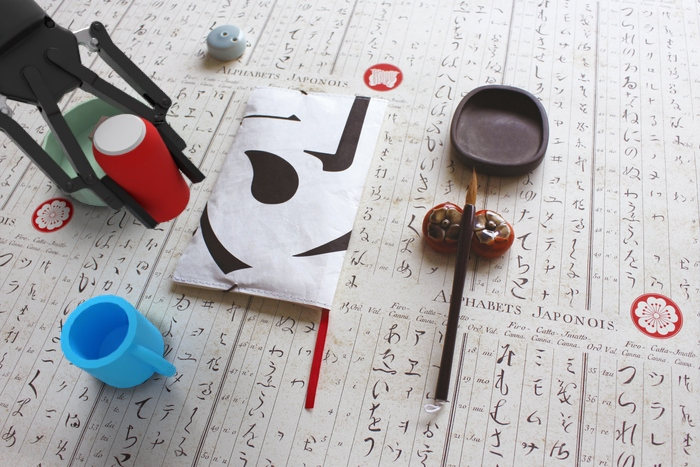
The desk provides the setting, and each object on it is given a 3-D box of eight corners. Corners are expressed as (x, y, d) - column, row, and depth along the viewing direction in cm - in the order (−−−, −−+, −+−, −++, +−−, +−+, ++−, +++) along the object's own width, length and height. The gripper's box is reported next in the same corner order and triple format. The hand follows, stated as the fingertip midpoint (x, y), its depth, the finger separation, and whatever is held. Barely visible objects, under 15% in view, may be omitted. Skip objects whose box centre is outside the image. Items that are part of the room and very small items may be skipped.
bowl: (111, 226, 75) (94, 206, 71) (38, 171, 80) (18, 150, 76) (192, 147, 81) (181, 125, 76) (119, 102, 86) (105, 78, 82)
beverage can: (160, 172, 63) (115, 98, 52) (204, 193, 61) (166, 120, 51) (125, 214, 60) (70, 144, 50) (170, 237, 59) (122, 170, 48)
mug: (81, 370, 65) (44, 349, 58) (123, 310, 69) (92, 283, 62) (165, 414, 62) (136, 397, 55) (204, 349, 66) (181, 325, 59)
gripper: (63, -35, 54) (228, 146, 63) (-111, 86, 47) (100, 269, 56) (70, -70, 48) (252, 136, 57) (-130, 64, 41) (112, 275, 50)
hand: (176, 202), depth 56 cm, fingers closed on beverage can, 6 cm apart
